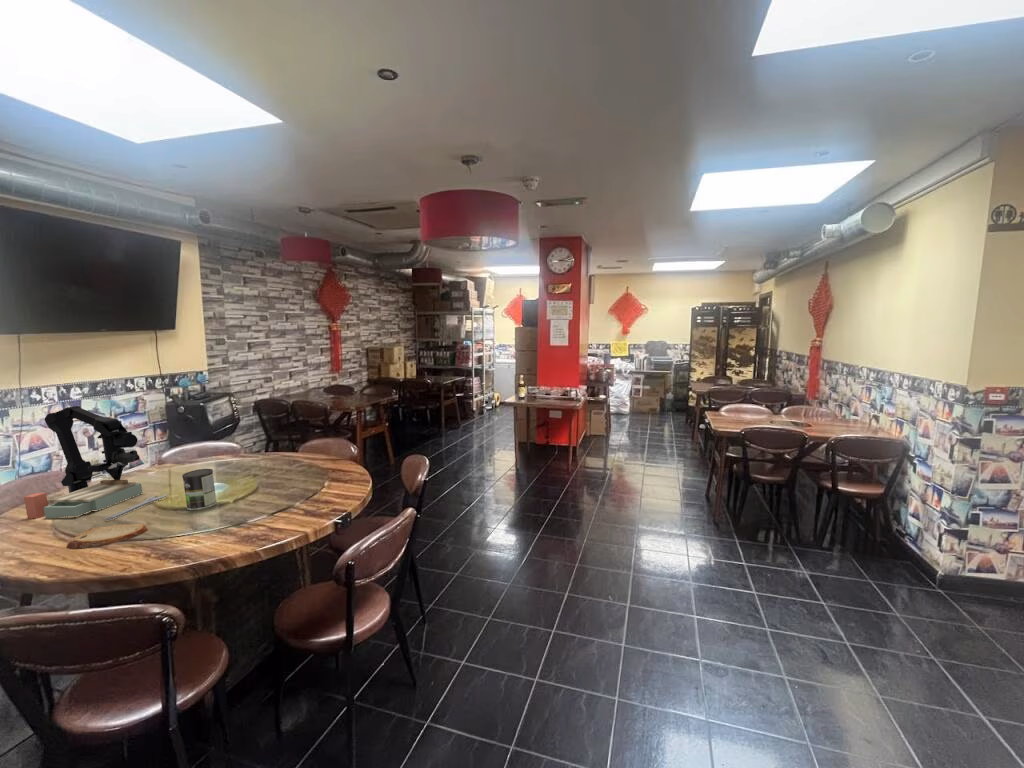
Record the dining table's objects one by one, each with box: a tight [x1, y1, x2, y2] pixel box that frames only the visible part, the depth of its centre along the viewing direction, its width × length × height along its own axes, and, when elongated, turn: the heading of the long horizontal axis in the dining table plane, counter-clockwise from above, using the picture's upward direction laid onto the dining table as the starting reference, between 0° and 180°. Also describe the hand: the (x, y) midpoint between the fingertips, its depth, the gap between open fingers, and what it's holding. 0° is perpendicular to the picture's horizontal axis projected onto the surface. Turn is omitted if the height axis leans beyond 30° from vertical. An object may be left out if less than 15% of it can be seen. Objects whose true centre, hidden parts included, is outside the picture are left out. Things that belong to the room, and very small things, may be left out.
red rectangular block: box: [23, 492, 49, 519], centre depth 179 cm, size 4×4×9 cm
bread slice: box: [66, 523, 149, 550], centre depth 155 cm, size 18×18×4 cm
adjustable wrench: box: [103, 493, 168, 521], centre depth 183 cm, size 25×6×2 cm, turn 169°
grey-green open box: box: [44, 482, 143, 519], centre depth 189 cm, size 18×26×5 cm
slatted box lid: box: [49, 479, 136, 503], centre depth 189 cm, size 18×20×3 cm
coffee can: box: [181, 468, 218, 511], centre depth 181 cm, size 10×10×14 cm
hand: (117, 481), depth 199 cm, fingers closed
